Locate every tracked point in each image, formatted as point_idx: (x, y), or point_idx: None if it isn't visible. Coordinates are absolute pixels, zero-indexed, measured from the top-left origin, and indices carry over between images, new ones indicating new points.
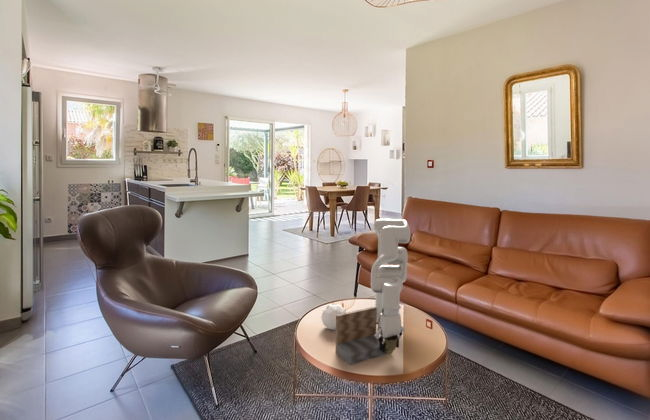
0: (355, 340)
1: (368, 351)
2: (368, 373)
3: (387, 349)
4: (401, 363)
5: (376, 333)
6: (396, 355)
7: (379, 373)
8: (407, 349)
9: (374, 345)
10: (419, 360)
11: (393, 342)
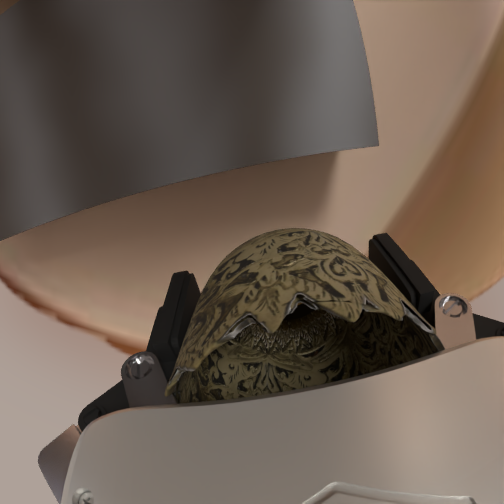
0: (31, 2)
1: (84, 207)
2: (91, 319)
3: (237, 344)
4: None
5: (59, 495)
6: (368, 179)
7: (149, 335)
8: (472, 139)
9: (171, 121)
10: (442, 275)
11: None
